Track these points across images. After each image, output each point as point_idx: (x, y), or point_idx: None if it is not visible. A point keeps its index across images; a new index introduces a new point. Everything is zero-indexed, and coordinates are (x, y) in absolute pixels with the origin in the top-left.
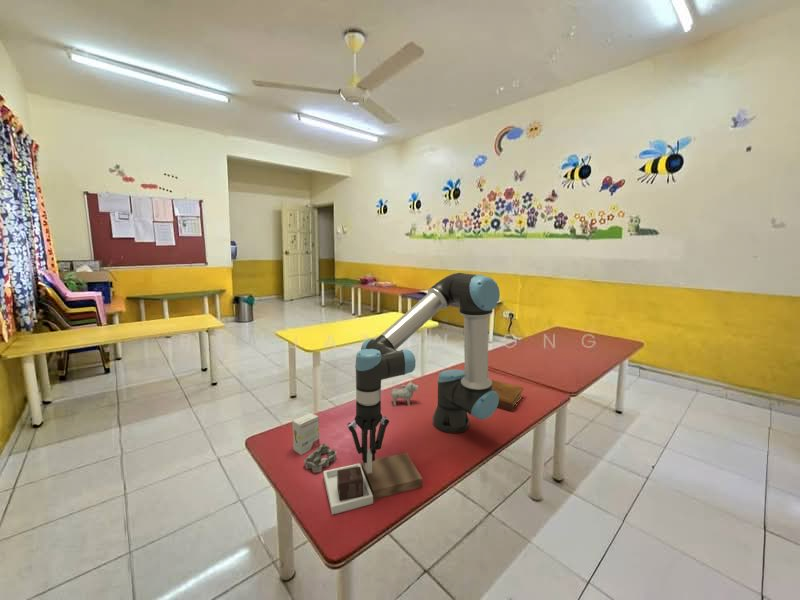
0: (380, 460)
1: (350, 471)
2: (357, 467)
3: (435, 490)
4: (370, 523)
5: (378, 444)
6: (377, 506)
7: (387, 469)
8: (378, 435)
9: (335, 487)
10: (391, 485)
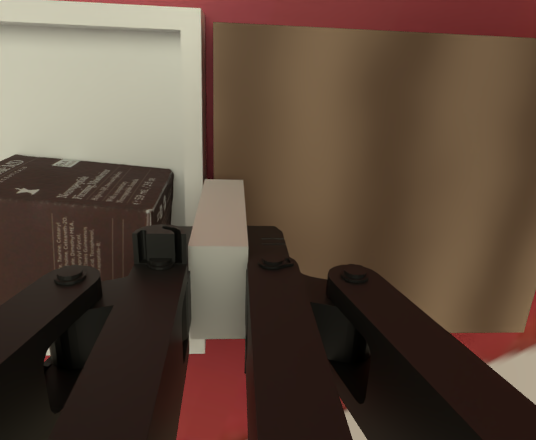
0: (370, 63)
1: (55, 247)
2: (124, 218)
3: (531, 341)
4: None
5: (347, 402)
6: (224, 345)
7: (372, 187)
8: (415, 429)
9: (4, 149)
10: None
